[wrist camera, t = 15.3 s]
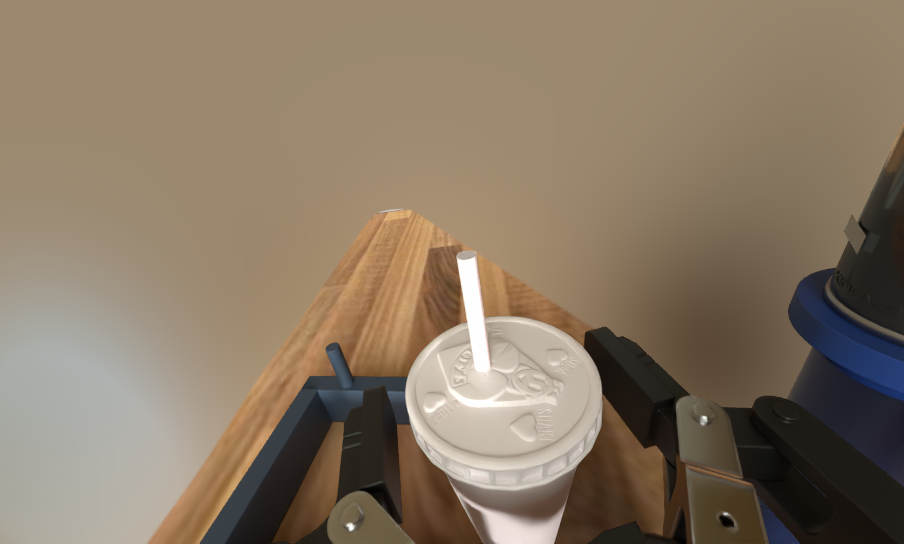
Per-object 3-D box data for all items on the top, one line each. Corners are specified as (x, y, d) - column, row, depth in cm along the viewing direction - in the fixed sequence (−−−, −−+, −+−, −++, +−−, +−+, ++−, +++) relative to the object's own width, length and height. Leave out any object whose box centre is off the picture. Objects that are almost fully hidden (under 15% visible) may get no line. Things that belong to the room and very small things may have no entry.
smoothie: (484, 435, 20) (445, 208, 13) (601, 486, 17) (634, 218, 10) (422, 555, 15) (311, 302, 8) (568, 656, 12) (584, 381, 5)
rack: (530, 412, 21) (526, 336, 18) (548, 721, 11) (546, 668, 8) (324, 406, 24) (292, 340, 21) (190, 647, 14) (92, 587, 11)
